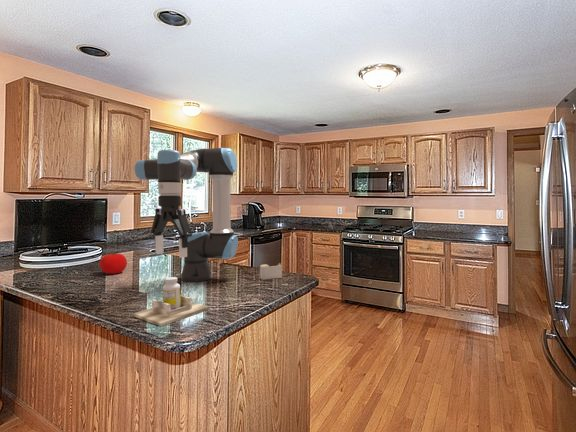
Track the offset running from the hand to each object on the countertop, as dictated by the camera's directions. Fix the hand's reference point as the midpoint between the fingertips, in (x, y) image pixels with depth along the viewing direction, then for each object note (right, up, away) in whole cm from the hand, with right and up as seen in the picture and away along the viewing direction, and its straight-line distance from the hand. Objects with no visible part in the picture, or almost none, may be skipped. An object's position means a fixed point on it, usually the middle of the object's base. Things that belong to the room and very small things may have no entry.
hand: (171, 255), depth 120 cm
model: (+33, -18, +52) cm, 64 cm away
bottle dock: (0, -21, +1) cm, 21 cm away
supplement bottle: (0, -20, +1) cm, 20 cm away
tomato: (-53, -17, +63) cm, 84 cm away
